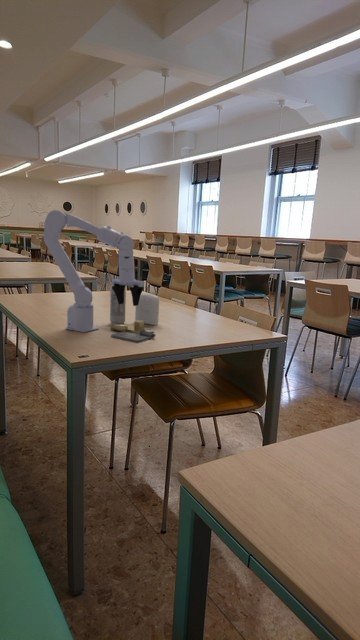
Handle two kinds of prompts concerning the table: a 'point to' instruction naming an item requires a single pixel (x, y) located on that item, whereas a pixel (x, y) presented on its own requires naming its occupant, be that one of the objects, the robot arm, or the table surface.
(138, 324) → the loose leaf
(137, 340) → the pin leaf
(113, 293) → the energy drink can
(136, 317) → the photo printer
